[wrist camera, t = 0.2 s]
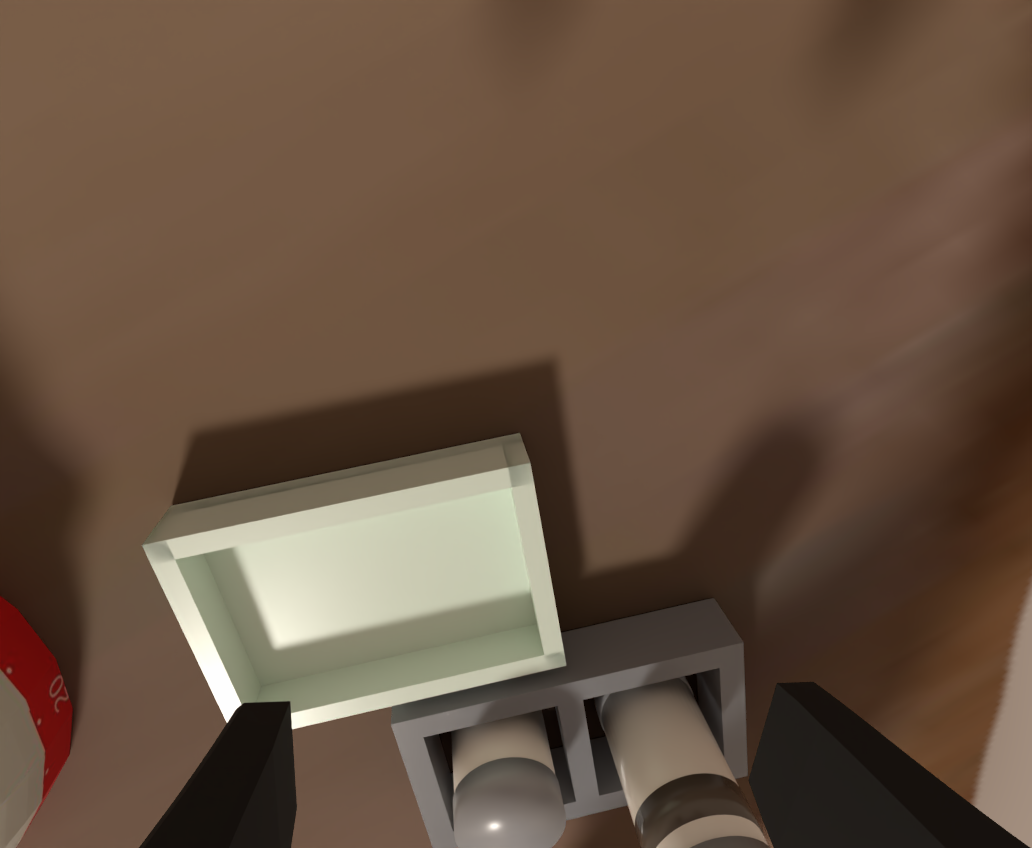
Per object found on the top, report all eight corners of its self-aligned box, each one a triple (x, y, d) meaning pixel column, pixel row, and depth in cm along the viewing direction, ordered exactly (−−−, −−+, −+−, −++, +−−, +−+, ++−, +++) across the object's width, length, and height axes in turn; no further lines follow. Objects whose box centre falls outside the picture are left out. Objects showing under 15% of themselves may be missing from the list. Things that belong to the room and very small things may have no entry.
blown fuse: (684, 706, 23) (801, 953, 16) (596, 727, 23) (676, 986, 16) (678, 637, 22) (803, 871, 15) (585, 658, 22) (666, 906, 15)
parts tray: (554, 622, 21) (566, 665, 19) (253, 690, 21) (236, 742, 19) (519, 432, 18) (530, 462, 17) (170, 506, 18) (141, 545, 16)
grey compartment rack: (720, 724, 24) (775, 828, 20) (433, 793, 23) (435, 913, 20) (713, 598, 22) (774, 689, 18) (393, 670, 21) (387, 781, 17)
